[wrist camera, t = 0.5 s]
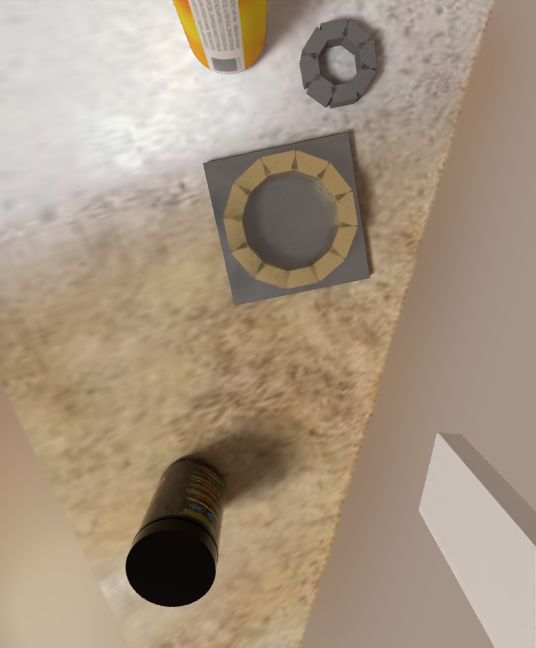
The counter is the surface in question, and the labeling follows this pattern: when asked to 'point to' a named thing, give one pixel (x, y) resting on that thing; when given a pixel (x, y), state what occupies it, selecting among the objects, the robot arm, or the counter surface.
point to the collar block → (288, 218)
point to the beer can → (224, 31)
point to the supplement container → (179, 536)
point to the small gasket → (354, 42)
